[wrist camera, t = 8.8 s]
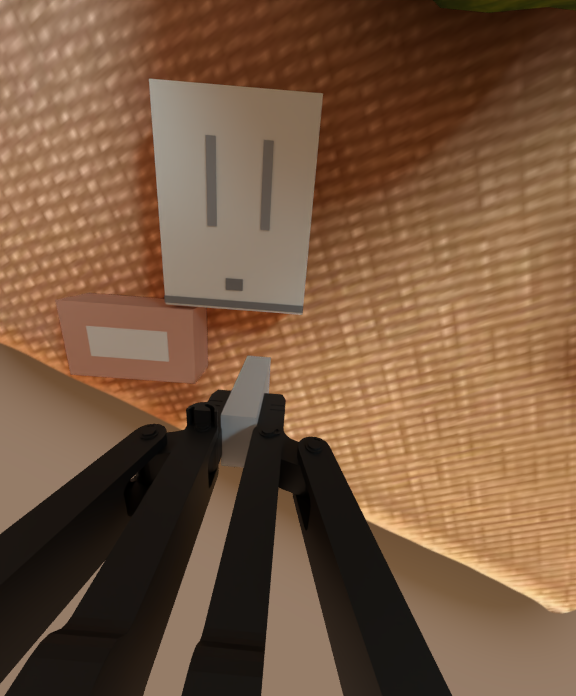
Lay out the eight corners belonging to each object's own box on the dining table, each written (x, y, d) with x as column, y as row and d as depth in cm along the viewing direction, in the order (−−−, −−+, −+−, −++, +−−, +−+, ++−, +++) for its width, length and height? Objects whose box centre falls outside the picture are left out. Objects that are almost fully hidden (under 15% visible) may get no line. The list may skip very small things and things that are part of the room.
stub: (88, 292, 23) (54, 300, 20) (206, 301, 24) (192, 310, 20) (99, 358, 25) (69, 375, 22) (208, 366, 26) (195, 384, 22)
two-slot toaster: (173, 108, 19) (147, 77, 16) (317, 120, 19) (323, 92, 16) (183, 296, 23) (165, 304, 20) (301, 305, 24) (302, 314, 20)
